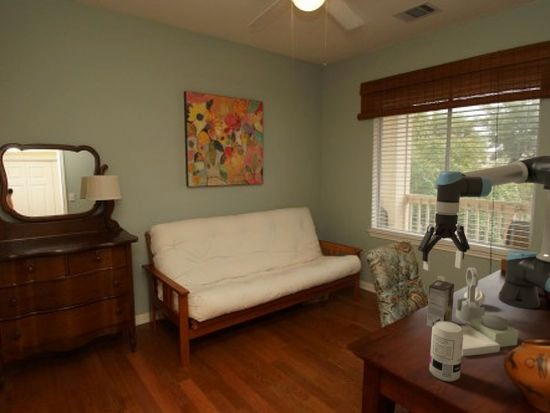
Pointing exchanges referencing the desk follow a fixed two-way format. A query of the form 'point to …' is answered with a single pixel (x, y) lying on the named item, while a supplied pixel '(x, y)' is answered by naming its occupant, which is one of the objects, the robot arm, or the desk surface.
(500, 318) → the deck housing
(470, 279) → the engine component
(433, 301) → the coffee box
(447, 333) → the supplement can
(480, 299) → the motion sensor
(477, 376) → the desk surface
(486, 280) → the desk surface
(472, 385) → the desk surface
